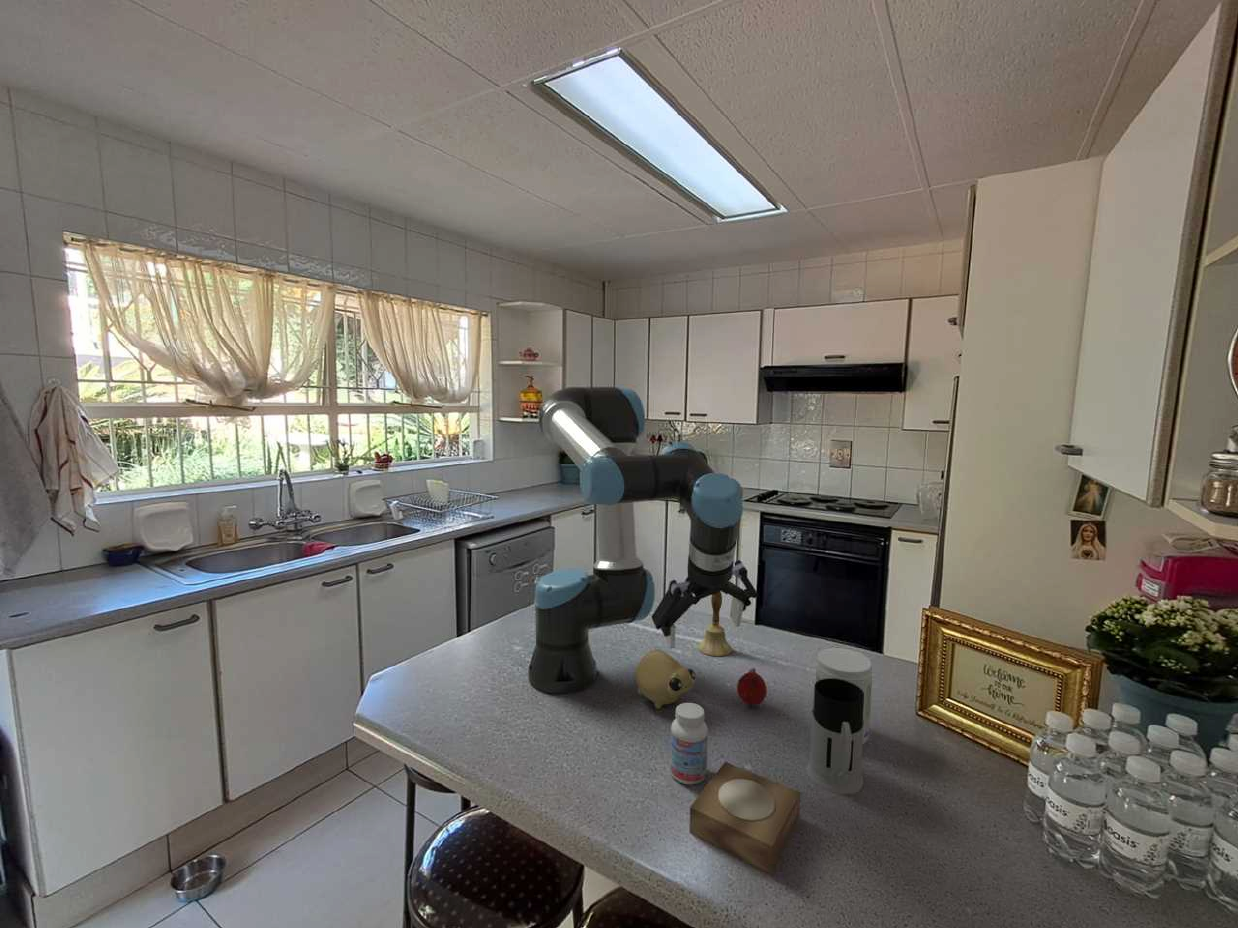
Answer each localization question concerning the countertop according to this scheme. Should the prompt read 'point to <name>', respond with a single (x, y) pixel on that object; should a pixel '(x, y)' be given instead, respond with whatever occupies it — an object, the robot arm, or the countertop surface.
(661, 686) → the toy pig
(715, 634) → the hand bell
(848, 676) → the supplement tub
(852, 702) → the glass holder
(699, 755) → the pill bottle
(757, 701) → the onion
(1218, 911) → the countertop surface
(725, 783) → the walnut plinth
